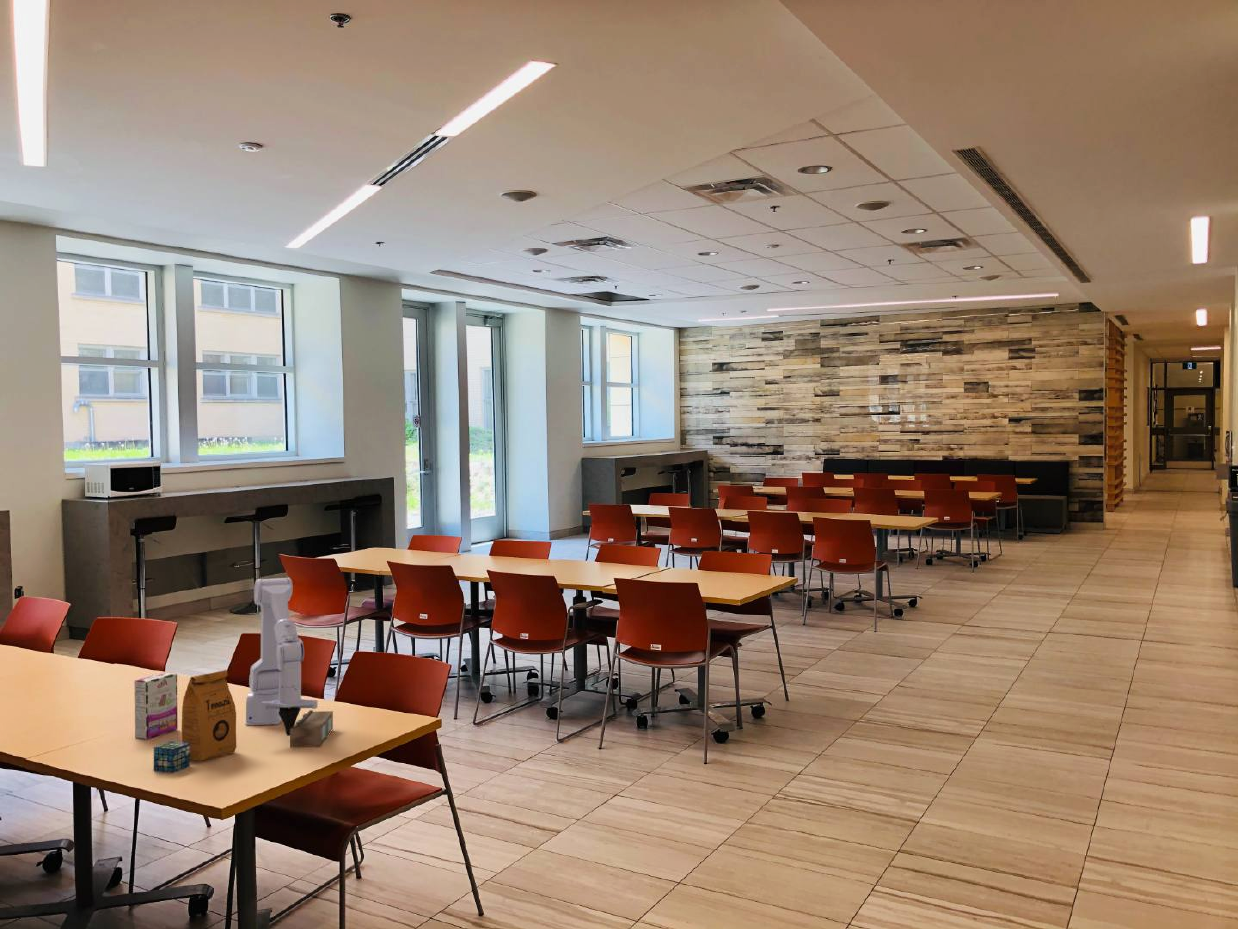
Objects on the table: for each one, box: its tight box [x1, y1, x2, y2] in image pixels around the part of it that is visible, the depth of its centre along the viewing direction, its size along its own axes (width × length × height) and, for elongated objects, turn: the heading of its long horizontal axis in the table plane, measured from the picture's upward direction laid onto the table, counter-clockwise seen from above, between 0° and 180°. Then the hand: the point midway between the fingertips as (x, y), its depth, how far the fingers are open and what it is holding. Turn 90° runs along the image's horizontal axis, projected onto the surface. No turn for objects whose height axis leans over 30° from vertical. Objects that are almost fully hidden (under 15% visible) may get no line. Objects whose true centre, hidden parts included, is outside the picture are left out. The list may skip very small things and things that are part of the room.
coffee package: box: [181, 669, 238, 761], centre depth 253 cm, size 10×12×22 cm
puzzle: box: [153, 740, 191, 774], centre depth 242 cm, size 6×6×6 cm
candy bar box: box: [134, 672, 178, 740], centre depth 274 cm, size 11×5×16 cm, turn 160°
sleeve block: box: [289, 709, 334, 748], centre depth 270 cm, size 8×17×6 cm, turn 5°
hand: (289, 735), depth 265 cm, fingers closed
